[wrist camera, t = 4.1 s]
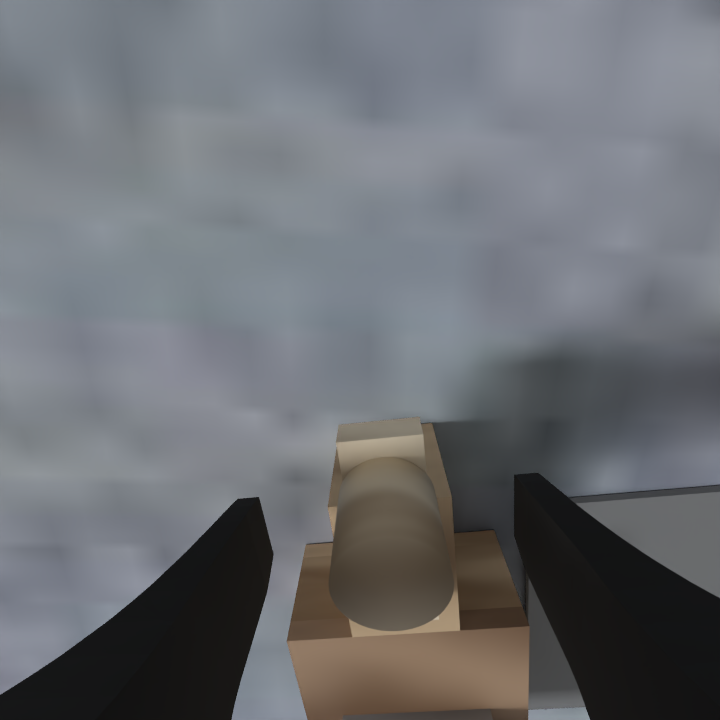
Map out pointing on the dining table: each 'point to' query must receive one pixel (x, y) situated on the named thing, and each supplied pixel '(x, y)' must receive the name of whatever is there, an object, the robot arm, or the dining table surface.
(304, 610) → the open wooden box
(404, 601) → the beige piece
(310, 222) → the dining table surface
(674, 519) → the mat
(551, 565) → the robot arm
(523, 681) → the lid
